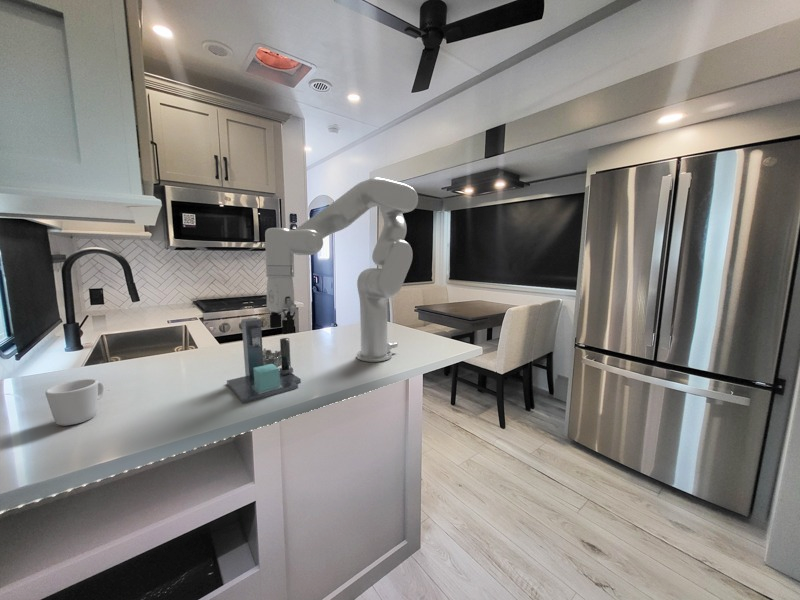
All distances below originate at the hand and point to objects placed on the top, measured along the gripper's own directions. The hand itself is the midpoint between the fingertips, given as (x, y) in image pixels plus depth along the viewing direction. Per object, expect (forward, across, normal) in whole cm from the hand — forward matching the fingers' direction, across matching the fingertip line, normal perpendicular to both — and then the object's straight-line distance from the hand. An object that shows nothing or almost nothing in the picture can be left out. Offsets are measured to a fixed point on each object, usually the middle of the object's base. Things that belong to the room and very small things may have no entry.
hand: (281, 330), depth 93 cm
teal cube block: (+13, +7, -7) cm, 16 cm away
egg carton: (+15, -16, +2) cm, 22 cm away
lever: (+13, 0, +1) cm, 13 cm away
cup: (+16, -6, -43) cm, 46 cm away
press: (+14, +3, -6) cm, 16 cm away
